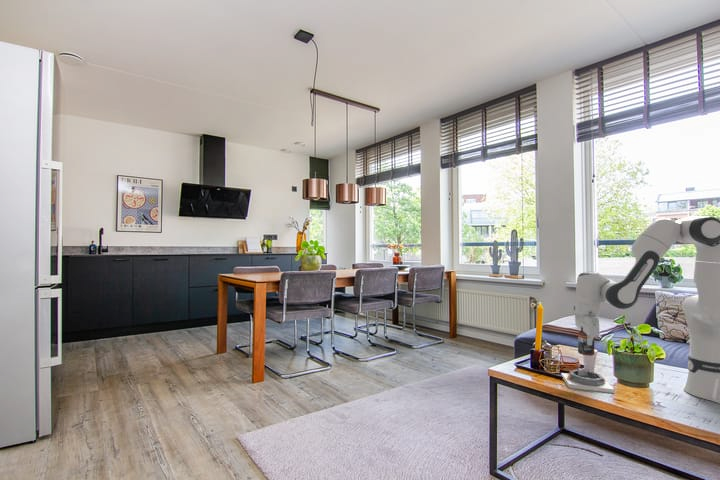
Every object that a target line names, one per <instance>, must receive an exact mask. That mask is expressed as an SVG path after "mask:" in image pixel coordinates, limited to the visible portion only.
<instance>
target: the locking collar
mask: <svg viewBox="0 0 720 480" xmlns="http://www.w3.org/2000/svg"><path fill="white" fill-rule="evenodd" d="M567 374H568V379H570V380H572V381H574V382H577V383H580V384H583V385H590V386H600V385H604V383H605V381H606V379H605V378H604V377H603V376H602V375H601V374H600V373H597V372H594V371H593V372H591V371H586V370H585V369H584V370H583V369H573V370H569V371H568V373H567ZM583 377H588V378H583ZM590 378H591V379H590Z"/></svg>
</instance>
